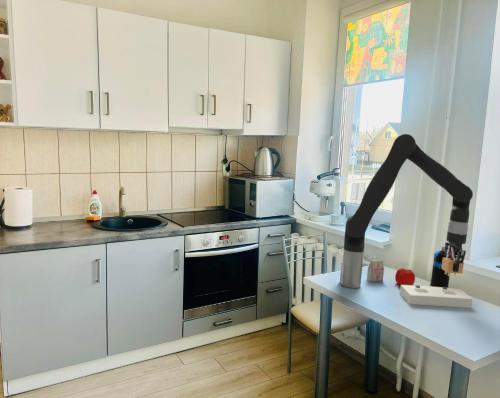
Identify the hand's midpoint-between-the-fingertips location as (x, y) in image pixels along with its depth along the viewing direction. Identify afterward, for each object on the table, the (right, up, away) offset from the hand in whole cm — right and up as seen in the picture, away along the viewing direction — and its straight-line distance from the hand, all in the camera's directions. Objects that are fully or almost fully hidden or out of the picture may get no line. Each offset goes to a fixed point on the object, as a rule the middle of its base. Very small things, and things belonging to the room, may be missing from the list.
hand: (451, 269), depth 170 cm
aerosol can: (+4, -12, +20) cm, 24 cm away
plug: (0, -3, 0) cm, 3 cm away
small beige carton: (-26, -10, +25) cm, 37 cm away
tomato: (-13, -11, +20) cm, 27 cm away
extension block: (-7, -14, +2) cm, 16 cm away
